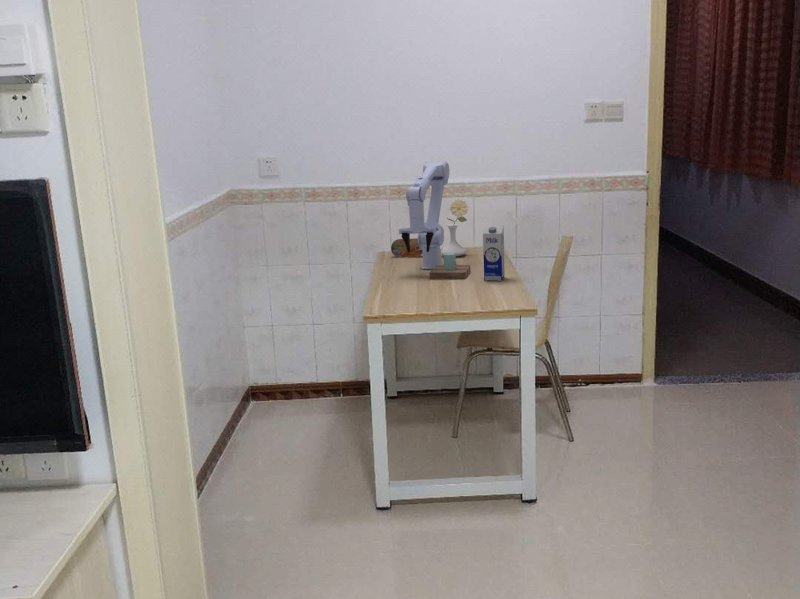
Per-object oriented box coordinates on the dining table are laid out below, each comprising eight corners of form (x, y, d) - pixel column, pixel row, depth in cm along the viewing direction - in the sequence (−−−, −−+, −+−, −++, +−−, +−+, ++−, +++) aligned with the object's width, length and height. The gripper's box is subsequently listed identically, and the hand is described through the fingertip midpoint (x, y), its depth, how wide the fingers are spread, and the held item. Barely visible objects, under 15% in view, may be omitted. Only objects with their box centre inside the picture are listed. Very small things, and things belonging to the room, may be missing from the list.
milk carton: (505, 277, 303) (504, 225, 298) (502, 281, 296) (501, 228, 292) (486, 277, 305) (485, 225, 300) (483, 280, 298) (482, 228, 294)
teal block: (445, 268, 313) (445, 253, 311) (455, 267, 312) (455, 253, 311) (444, 270, 309) (443, 255, 308) (454, 270, 308) (453, 254, 307)
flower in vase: (437, 258, 347) (435, 201, 341) (444, 253, 357) (442, 197, 351) (467, 258, 343) (465, 200, 337) (472, 253, 353) (470, 197, 347)
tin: (391, 257, 354) (390, 239, 352) (392, 256, 357) (391, 237, 355) (424, 257, 350) (423, 238, 348) (425, 256, 353) (424, 237, 351)
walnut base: (435, 271, 319) (435, 265, 319) (470, 271, 316) (470, 265, 316) (429, 279, 306) (429, 272, 305) (465, 279, 303) (465, 272, 302)
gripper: (396, 219, 307) (398, 253, 310) (433, 218, 304) (435, 253, 307) (400, 216, 314) (401, 250, 317) (436, 215, 311) (437, 249, 314)
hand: (418, 251), depth 312 cm, fingers open, 7 cm apart
